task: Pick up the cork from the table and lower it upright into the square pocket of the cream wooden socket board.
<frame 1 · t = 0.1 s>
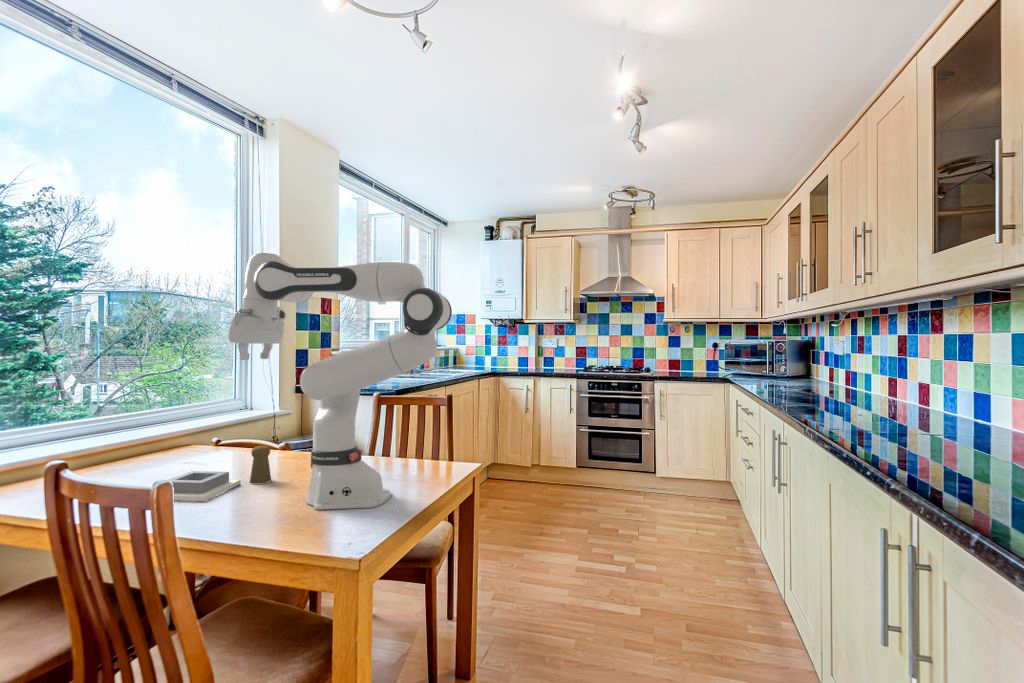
hand: (254, 359, 137), 39 cm above the table, tool pointing down, fingers open, 8 cm apart
socket board: (196, 492, 141), on the table
cork: (260, 482, 152), on the table
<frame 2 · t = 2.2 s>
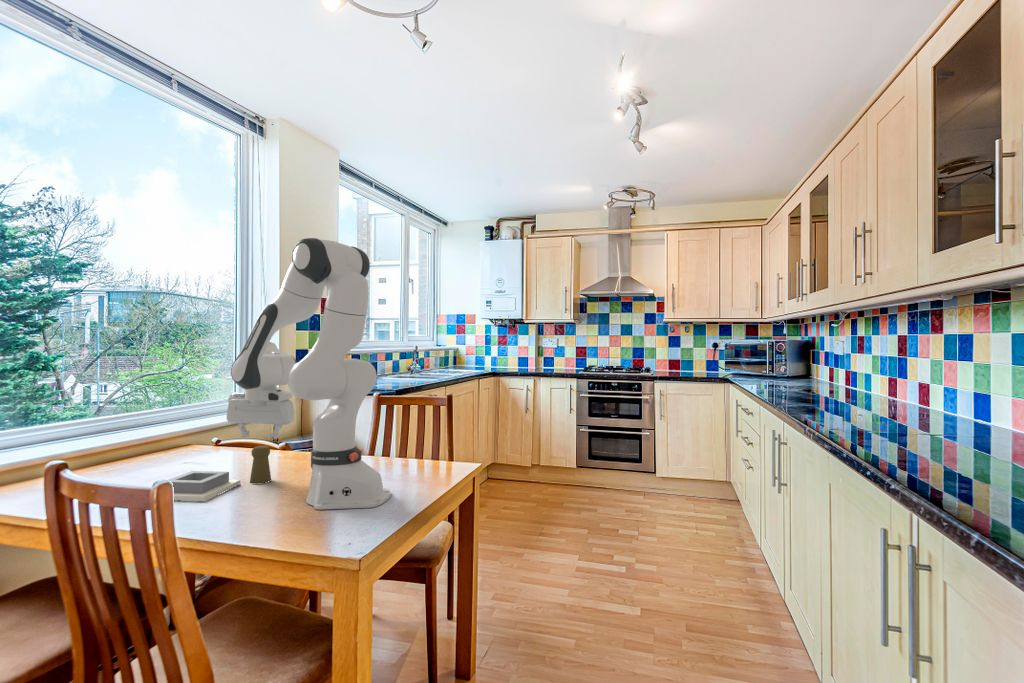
hand: (259, 437, 153), 14 cm above the table, tool pointing down, fingers open, 8 cm apart
nothing on the table moved.
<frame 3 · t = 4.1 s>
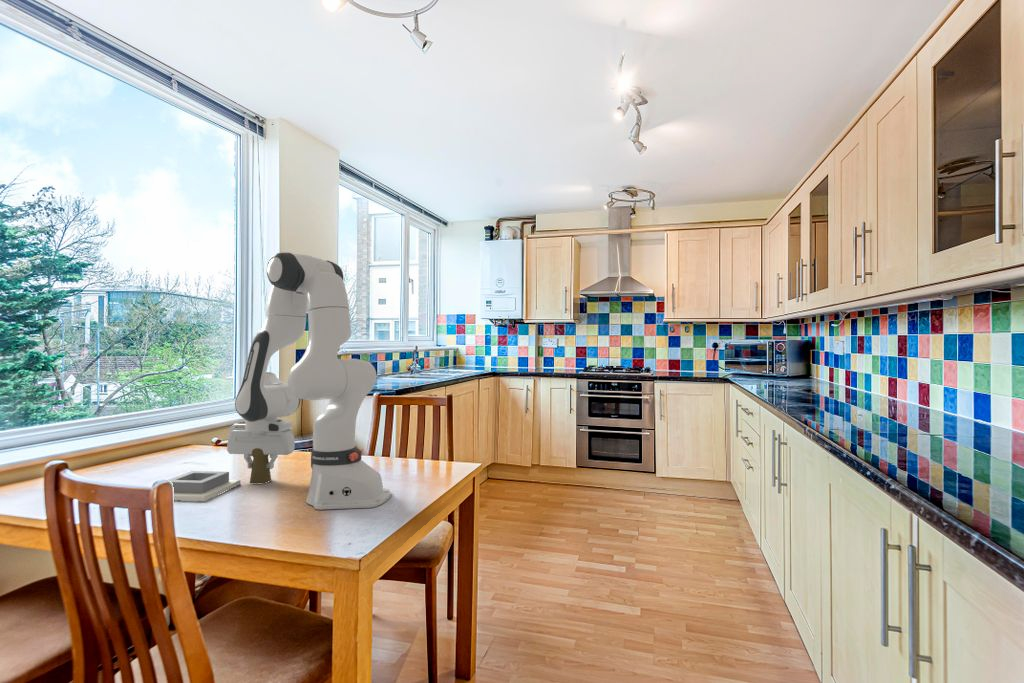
hand: (260, 468, 152), 4 cm above the table, tool pointing down, fingers closed on cork, 5 cm apart
cork: (260, 482, 152), on the table, touching gripper
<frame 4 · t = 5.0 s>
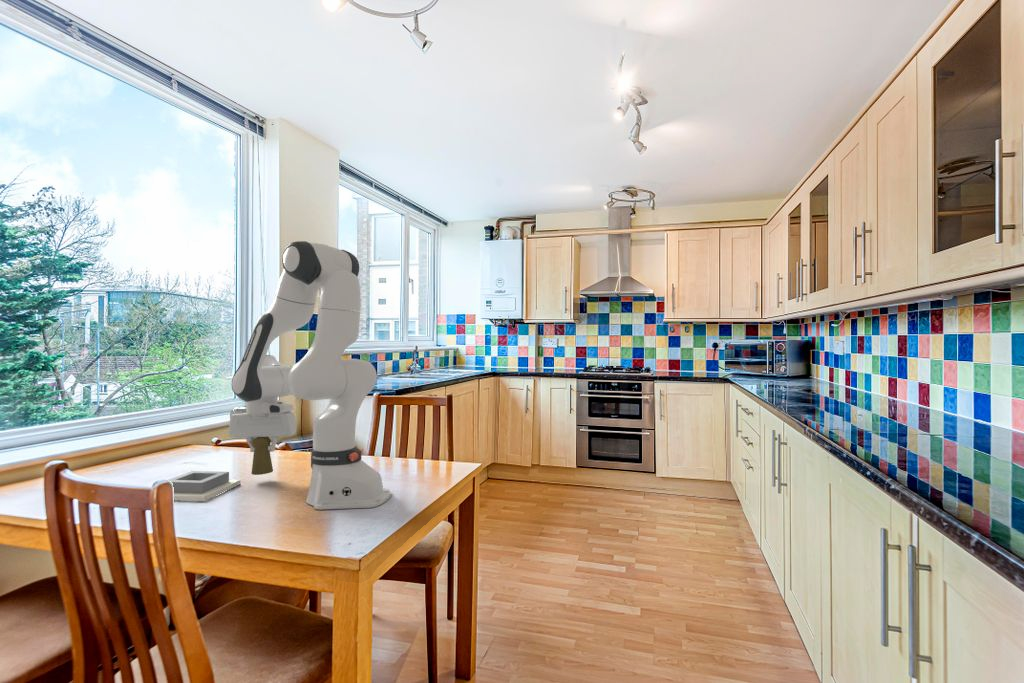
hand: (262, 451, 152), 10 cm above the table, tool pointing down, fingers closed on cork, 4 cm apart
cork: (262, 472, 151), point 3 cm above the table, touching gripper
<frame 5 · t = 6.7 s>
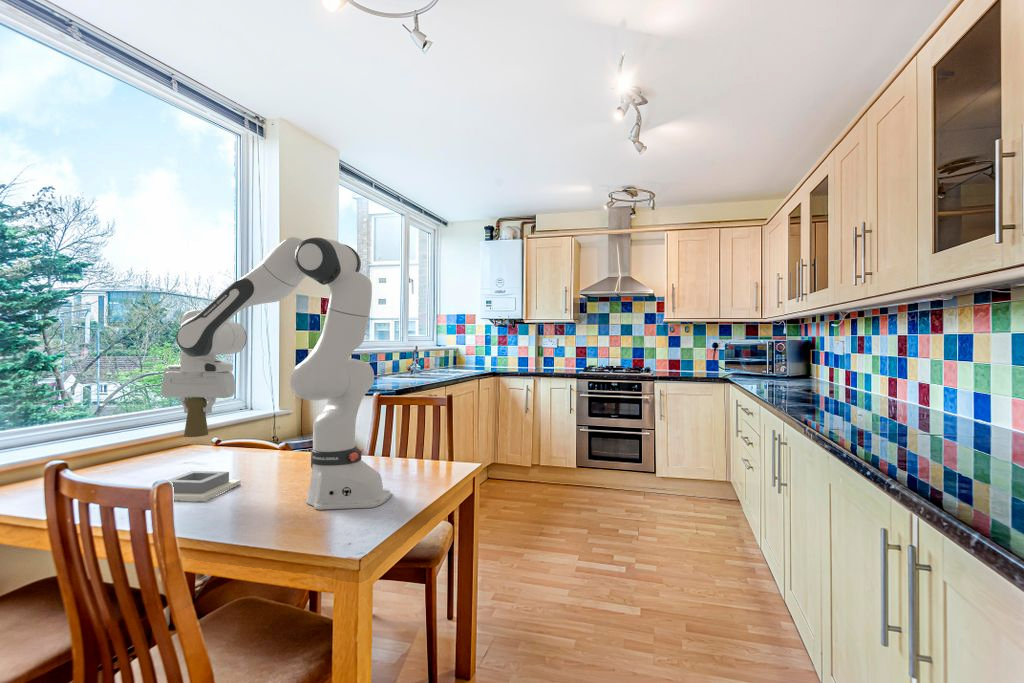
hand: (197, 413, 141), 23 cm above the table, tool pointing down, fingers closed on cork, 4 cm apart
cork: (196, 435, 141), point 16 cm above the table, touching gripper
when the fingers open (7 cm above the table, at t = 9.5 s): cork stays where it is, resting on socket board.
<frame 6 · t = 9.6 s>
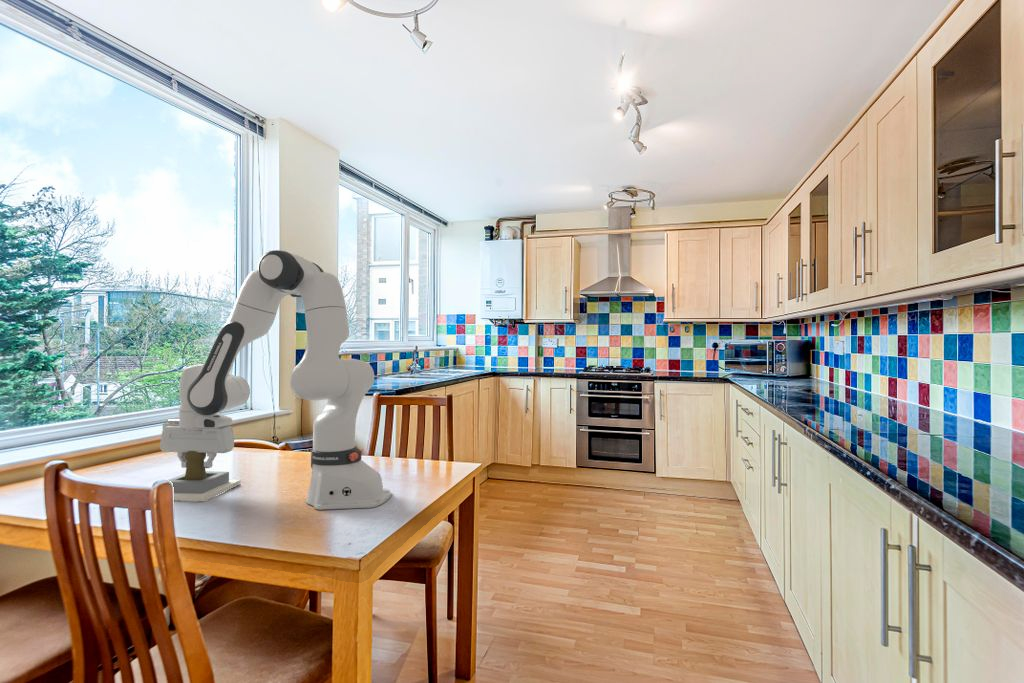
hand: (196, 467, 141), 7 cm above the table, tool pointing down, fingers open, 5 cm apart
cork: (195, 487, 141), point 1 cm above the table, touching socket board
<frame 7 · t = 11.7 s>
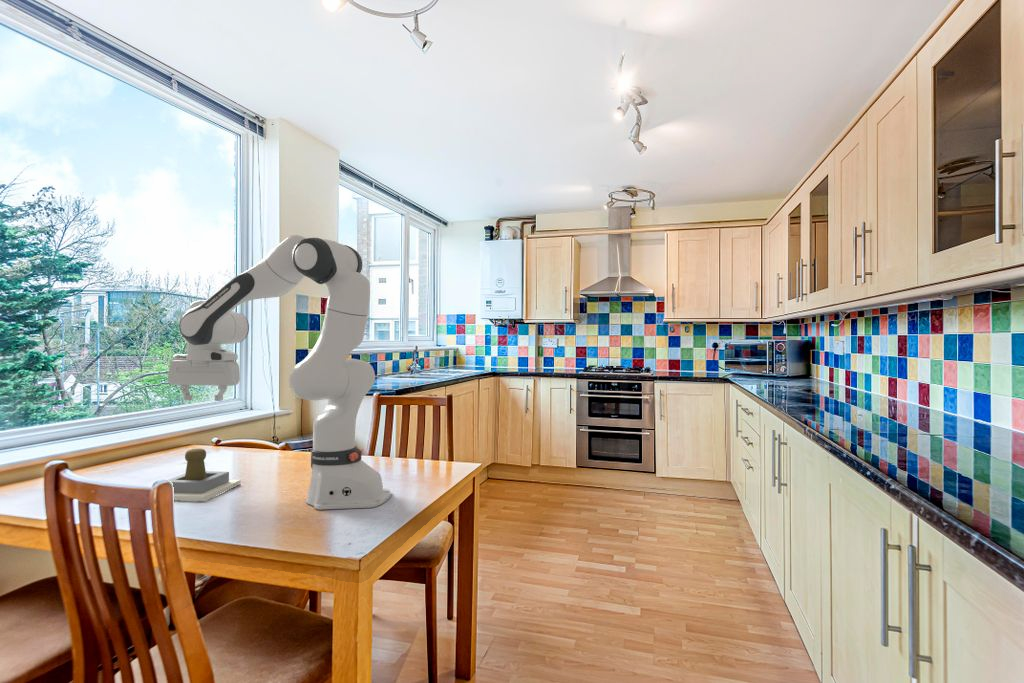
hand: (203, 400, 146), 26 cm above the table, tool pointing down, fingers open, 8 cm apart
nothing on the table moved.
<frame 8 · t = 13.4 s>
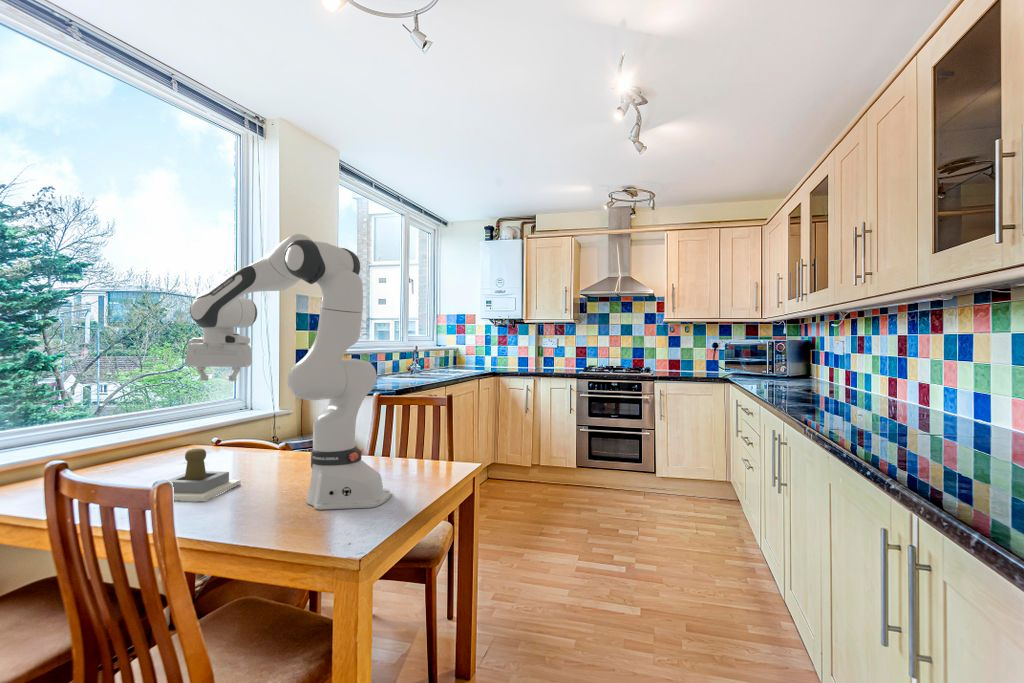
hand: (218, 381, 156), 31 cm above the table, tool pointing down, fingers open, 8 cm apart
nothing on the table moved.
at the end: cork 0.4 cm off-centre on the socket board, point 1.3 cm above the socket board's base; cork tilted 0°; the gripper is holding nothing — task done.
